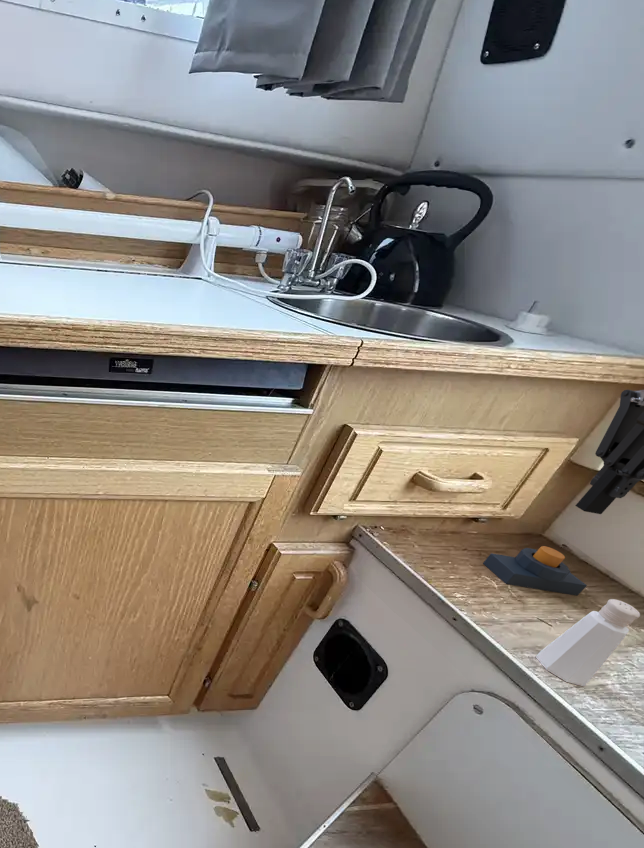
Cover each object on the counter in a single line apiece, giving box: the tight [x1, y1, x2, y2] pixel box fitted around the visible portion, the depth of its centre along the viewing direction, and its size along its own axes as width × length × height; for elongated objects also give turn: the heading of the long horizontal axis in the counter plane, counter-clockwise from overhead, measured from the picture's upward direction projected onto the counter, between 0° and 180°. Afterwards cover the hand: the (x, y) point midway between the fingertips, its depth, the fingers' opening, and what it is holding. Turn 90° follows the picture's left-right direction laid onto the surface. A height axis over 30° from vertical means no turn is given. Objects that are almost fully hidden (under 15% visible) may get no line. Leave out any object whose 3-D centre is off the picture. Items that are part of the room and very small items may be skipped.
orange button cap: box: [533, 545, 566, 568], centre depth 85 cm, size 3×3×2 cm
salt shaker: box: [535, 598, 641, 687], centre depth 67 cm, size 5×5×11 cm
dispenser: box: [482, 547, 588, 596], centre depth 87 cm, size 12×6×4 cm, turn 88°
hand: (588, 509), depth 81 cm, fingers closed
